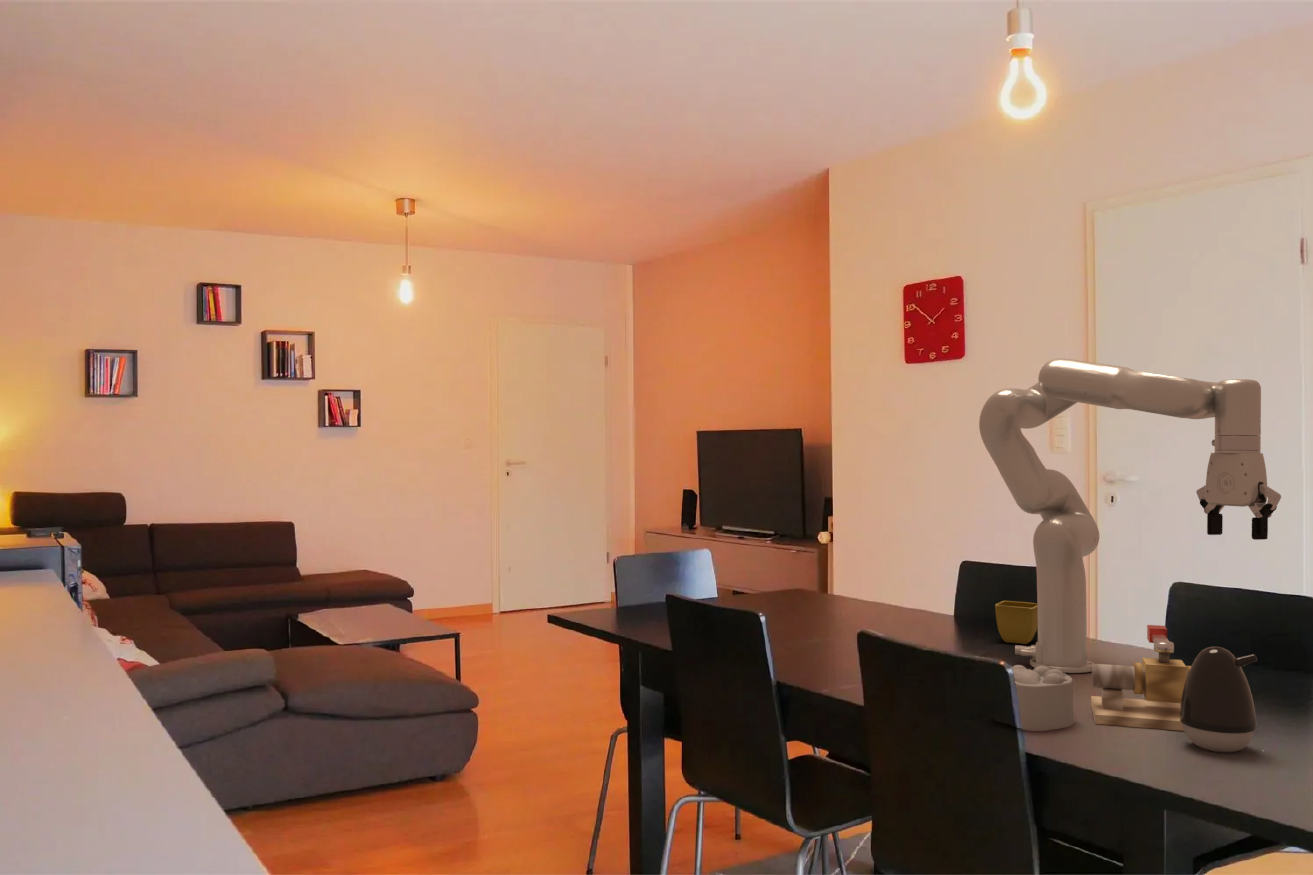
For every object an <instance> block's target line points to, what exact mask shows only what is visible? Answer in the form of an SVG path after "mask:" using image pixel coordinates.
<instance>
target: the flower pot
mask: <svg viewBox="0 0 1313 875" xmlns="http://www.w3.org/2000/svg"><path fill="white" fill-rule="evenodd" d="M994 606H995V607H994V608H995V619H996V625H997V630H998V632H999V635H1000V637H1001V639H1002V640H1003V641H1004V642H1005V643H1013V644H1022V645H1028V644H1029V643H1030V642H1031V641H1032V640H1033V639H1034V637H1035V635H1036V632H1038V620H1037V603H1035V602H1026V601H1015V600H1013V601H1012V600H1002V601H1000V602H998V603H995V605H994Z"/></svg>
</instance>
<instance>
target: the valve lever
mask: <svg viewBox="0 0 1313 875" xmlns="http://www.w3.org/2000/svg"><path fill="white" fill-rule="evenodd" d="M1146 629H1147V631H1146V633H1147V635H1146V639H1147V641H1148V643H1150V644H1153V651H1154V652H1156V653H1158V654H1159V653H1169V654H1173V653H1175V644H1174V642H1173V641H1170V640H1169V639H1168V629H1167V627H1166V626H1165V625H1158V624H1157V625H1156V624H1147V625H1146Z"/></svg>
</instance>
